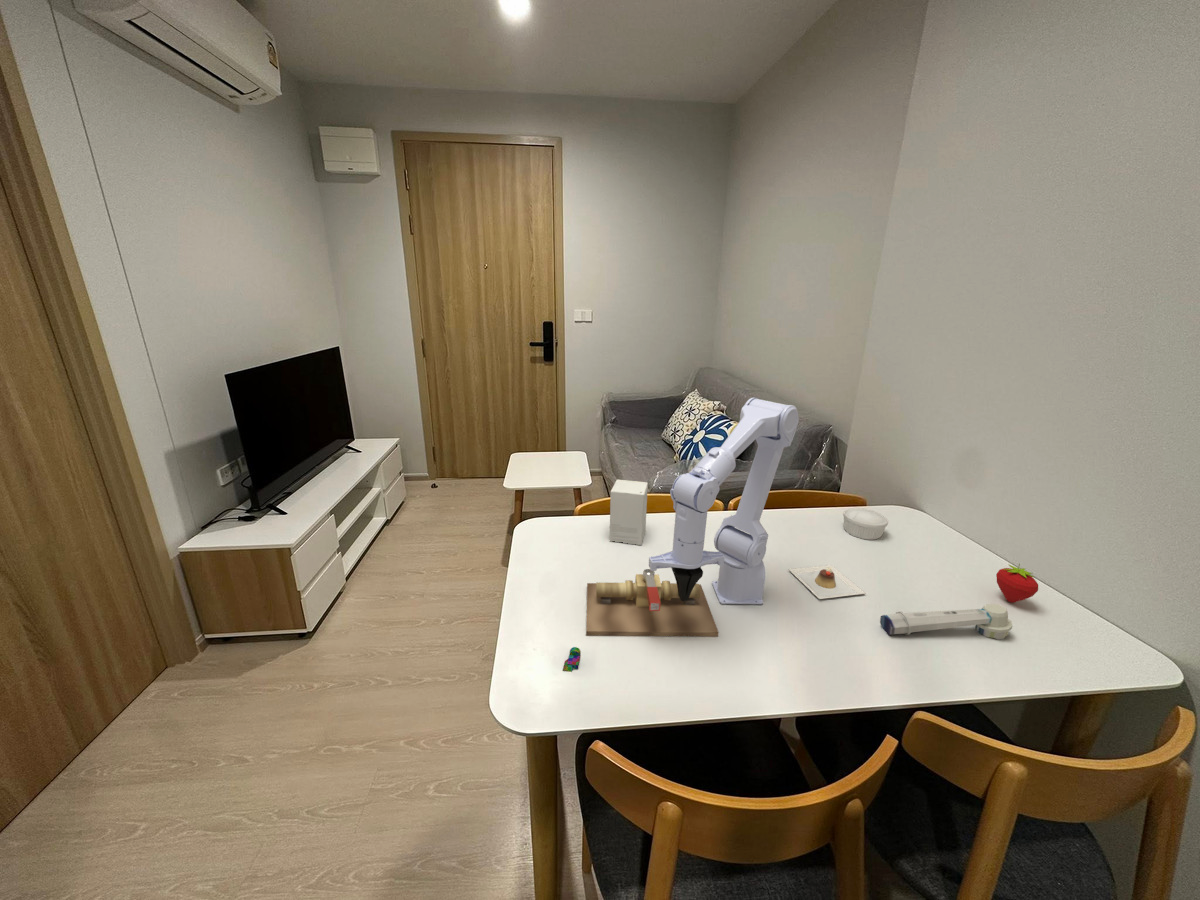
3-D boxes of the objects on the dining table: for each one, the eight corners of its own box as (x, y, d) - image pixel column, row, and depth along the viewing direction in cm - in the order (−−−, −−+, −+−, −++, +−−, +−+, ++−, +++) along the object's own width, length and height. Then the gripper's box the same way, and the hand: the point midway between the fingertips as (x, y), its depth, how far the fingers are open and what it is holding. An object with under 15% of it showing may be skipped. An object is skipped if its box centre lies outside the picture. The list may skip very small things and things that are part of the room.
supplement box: (646, 530, 134) (649, 481, 129) (641, 546, 125) (644, 494, 121) (614, 526, 136) (616, 478, 131) (608, 541, 127) (610, 490, 122)
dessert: (818, 603, 105) (822, 584, 103) (787, 573, 116) (790, 556, 114) (865, 597, 107) (869, 579, 106) (830, 568, 118) (833, 551, 117)
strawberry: (1019, 615, 102) (1033, 575, 98) (982, 594, 108) (995, 556, 105) (1037, 610, 103) (1052, 570, 100) (1000, 590, 110) (1013, 552, 107)
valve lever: (642, 575, 101) (642, 568, 101) (653, 575, 101) (653, 568, 101) (648, 610, 90) (648, 602, 90) (660, 610, 90) (661, 602, 90)
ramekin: (835, 522, 142) (838, 506, 140) (874, 525, 140) (878, 509, 139) (848, 540, 131) (852, 523, 130) (891, 544, 130) (895, 526, 128)
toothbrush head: (878, 607, 97) (1001, 594, 96) (876, 634, 99) (996, 621, 99) (894, 624, 92) (1023, 610, 92) (891, 652, 94) (1017, 638, 94)
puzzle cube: (565, 656, 88) (565, 646, 87) (580, 657, 87) (580, 647, 87) (561, 673, 84) (561, 663, 83) (577, 675, 83) (577, 664, 83)
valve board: (700, 588, 108) (702, 565, 106) (718, 636, 93) (721, 611, 91) (587, 586, 108) (587, 564, 106) (586, 635, 92) (586, 609, 90)
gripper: (716, 524, 93) (709, 582, 98) (646, 528, 91) (642, 588, 95) (732, 541, 87) (724, 603, 91) (656, 547, 84) (652, 610, 89)
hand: (683, 597), depth 93 cm, fingers closed
